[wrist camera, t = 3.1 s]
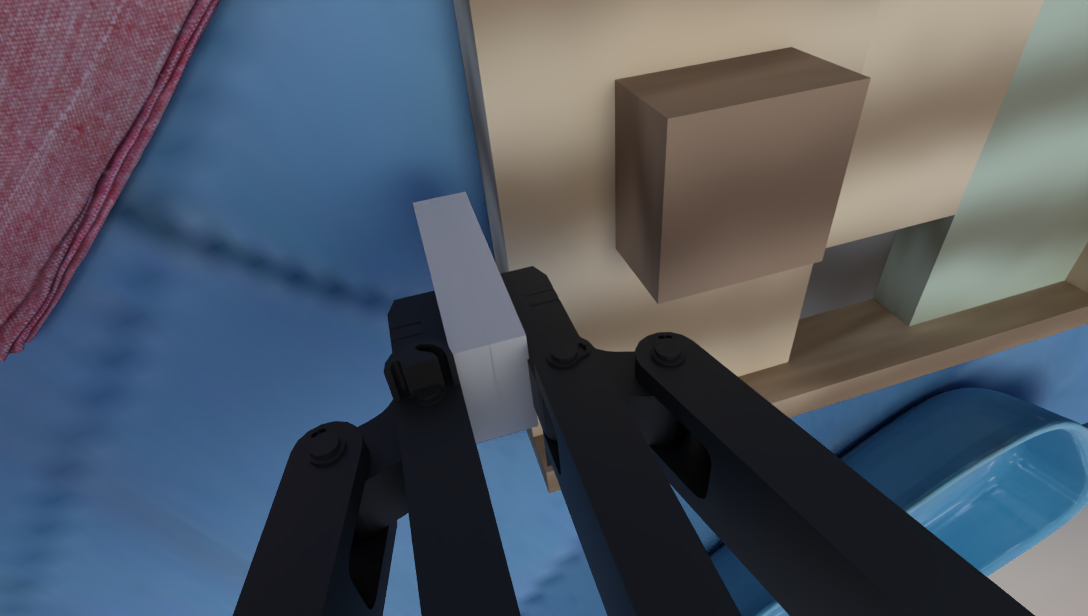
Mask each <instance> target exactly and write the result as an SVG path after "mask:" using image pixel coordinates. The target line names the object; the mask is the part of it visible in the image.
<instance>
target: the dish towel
mask: <svg viewBox="0 0 1088 616" xmlns="http://www.w3.org/2000/svg"><path fill="white" fill-rule="evenodd" d="M219 2H220V0H0V361H5V359H6V358H7V356H8V354H9V353H19V352H21V351H23V350H24V345H25V343H28V342H31V340H32V339H33V338H34V337H35V335H36V334H37V333H38V331H39V330H40V328H41V327H42V325H43V323H44V322H45V320H46V319H47V317H48V316H49V314H50V313H51V311H52V310H53V308H54V307H55V305H56V304H57V302H58V301H59V299H60V297H61V296H62V294H63V292H64V290H65V289H66V287H67V285H68V283H69V282H70V280H71V278H72V276H73V275H74V273H75V272H76V270H77V268H78V267H79V265H80V264H81V262H82V261H83V260H84V258H85V257H86V255H87V253H88V251H89V250H90V248H91V246H92V244H93V242H94V240H95V238H96V236H97V235H98V233H99V231H100V229H101V227H102V226H103V224H104V222H105V220H106V218H107V216H108V214H109V212H110V210H111V209H112V207H113V206H114V204H115V202H116V200H117V198H118V196H119V195H120V193H121V192H122V190H123V188H124V186H125V184H126V183H127V181H128V179H129V177H130V175H131V174H132V172H133V170H134V168H135V167H136V165H137V164H138V162H139V160H140V158H141V155H142V153H143V151H144V149H145V147H146V146H147V144H148V143H149V141H150V139H151V138H152V136H153V134H154V132H155V130H156V127H157V125H158V124H159V122H160V120H161V118H162V116H163V114H164V112H165V110H166V108H167V106H168V104H169V101H170V99H171V97H172V95H173V93H174V91H175V89H176V87H177V85H178V83H179V80H180V78H181V76H182V73H183V71H184V69H185V66H186V64H187V62H188V61H189V59H190V57H191V55H192V53H193V51H194V49H195V47H196V45H197V43H198V41H199V39H200V37H201V35H202V34H203V32H204V30H205V28H206V27H207V25H208V23H209V21H210V20H211V18H212V16H213V14H214V13H215V11H216V8H217V6H218V4H219Z"/></svg>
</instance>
